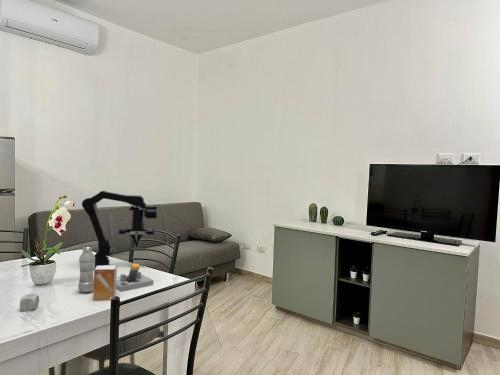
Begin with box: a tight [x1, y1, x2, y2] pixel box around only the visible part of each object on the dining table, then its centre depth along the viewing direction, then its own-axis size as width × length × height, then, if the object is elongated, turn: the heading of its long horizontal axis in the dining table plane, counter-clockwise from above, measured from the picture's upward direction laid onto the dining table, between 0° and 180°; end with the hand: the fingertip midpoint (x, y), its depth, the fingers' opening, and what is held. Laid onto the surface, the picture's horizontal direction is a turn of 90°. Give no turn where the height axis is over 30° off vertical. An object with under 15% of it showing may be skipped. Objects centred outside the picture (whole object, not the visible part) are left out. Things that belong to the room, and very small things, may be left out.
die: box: [19, 293, 40, 312], centre depth 131 cm, size 5×5×5 cm
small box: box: [92, 264, 118, 301], centre depth 146 cm, size 8×6×13 cm
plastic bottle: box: [77, 245, 95, 293], centre depth 151 cm, size 6×7×20 cm
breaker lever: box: [126, 262, 141, 283], centre depth 162 cm, size 2×4×10 cm, turn 135°
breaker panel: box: [116, 270, 154, 293], centre depth 164 cm, size 14×16×5 cm
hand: (137, 246), depth 192 cm, fingers closed
